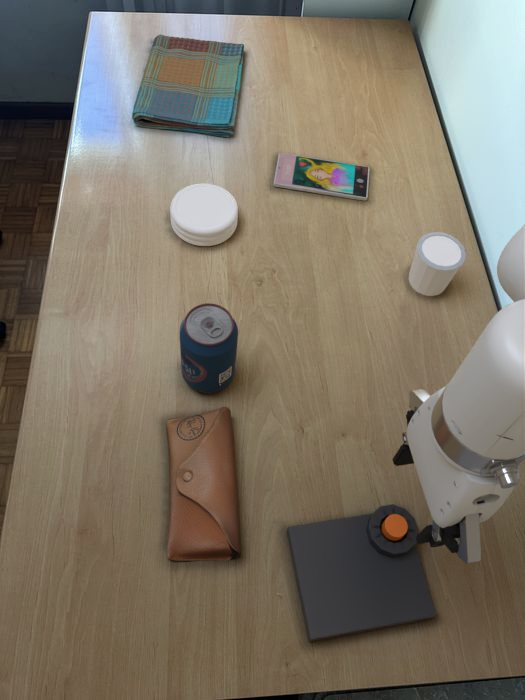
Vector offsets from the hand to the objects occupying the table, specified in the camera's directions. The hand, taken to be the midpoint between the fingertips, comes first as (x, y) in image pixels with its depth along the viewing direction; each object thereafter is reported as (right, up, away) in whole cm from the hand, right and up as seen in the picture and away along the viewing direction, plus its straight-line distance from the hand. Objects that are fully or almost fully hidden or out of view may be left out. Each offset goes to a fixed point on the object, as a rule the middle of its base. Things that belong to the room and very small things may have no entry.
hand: (419, 498), depth 66 cm
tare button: (-1, -6, +9) cm, 11 cm away
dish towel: (-28, +60, +51) cm, 84 cm away
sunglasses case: (-23, -2, +14) cm, 27 cm away
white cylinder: (+9, +25, +32) cm, 42 cm away
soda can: (-23, +11, +21) cm, 33 cm away
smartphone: (-6, +42, +41) cm, 59 cm away
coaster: (-24, +34, +35) cm, 54 cm away
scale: (-5, -11, +9) cm, 15 cm away
